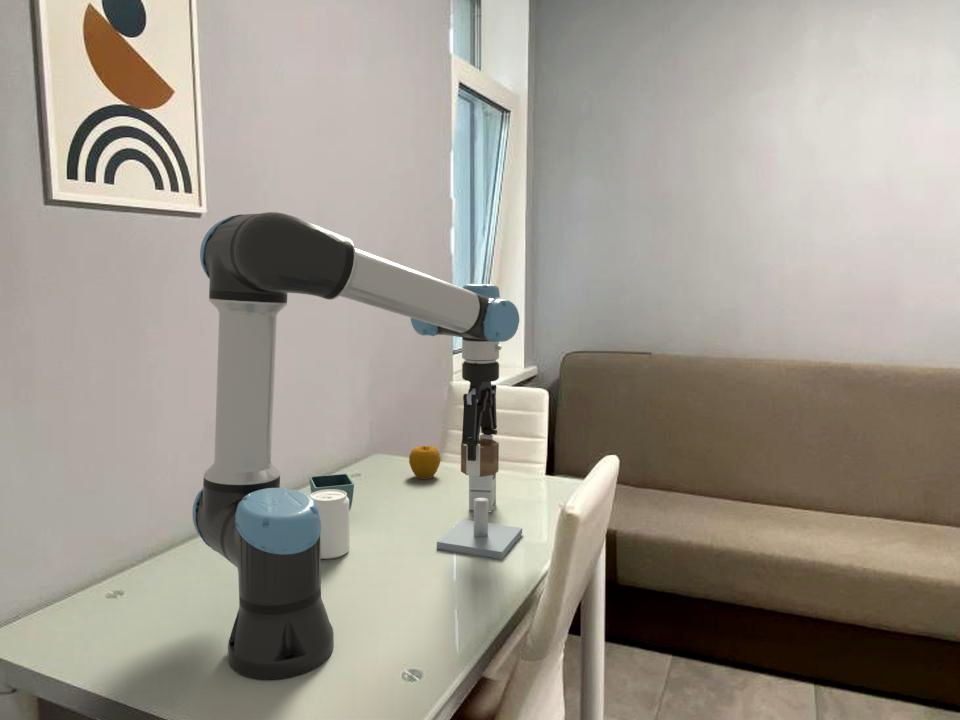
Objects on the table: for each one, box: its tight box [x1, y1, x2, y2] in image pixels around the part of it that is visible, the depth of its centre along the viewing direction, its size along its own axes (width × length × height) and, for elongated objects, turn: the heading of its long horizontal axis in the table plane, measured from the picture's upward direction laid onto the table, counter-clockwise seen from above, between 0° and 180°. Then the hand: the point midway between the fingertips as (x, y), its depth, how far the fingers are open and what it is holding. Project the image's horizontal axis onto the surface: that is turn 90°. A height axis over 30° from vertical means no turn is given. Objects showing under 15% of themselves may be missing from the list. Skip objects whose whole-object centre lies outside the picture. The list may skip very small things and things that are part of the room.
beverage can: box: [309, 489, 351, 560], centre depth 141 cm, size 8×8×12 cm
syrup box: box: [468, 473, 497, 512], centre depth 168 cm, size 6×6×14 cm
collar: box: [460, 437, 500, 477], centre depth 146 cm, size 7×7×6 cm
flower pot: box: [309, 473, 355, 512], centre depth 160 cm, size 9×9×9 cm
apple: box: [408, 445, 441, 480], centre depth 193 cm, size 9×8×9 cm
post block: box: [436, 498, 523, 560], centre depth 148 cm, size 14×14×9 cm
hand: (479, 469), depth 147 cm, fingers closed on collar, 7 cm apart
